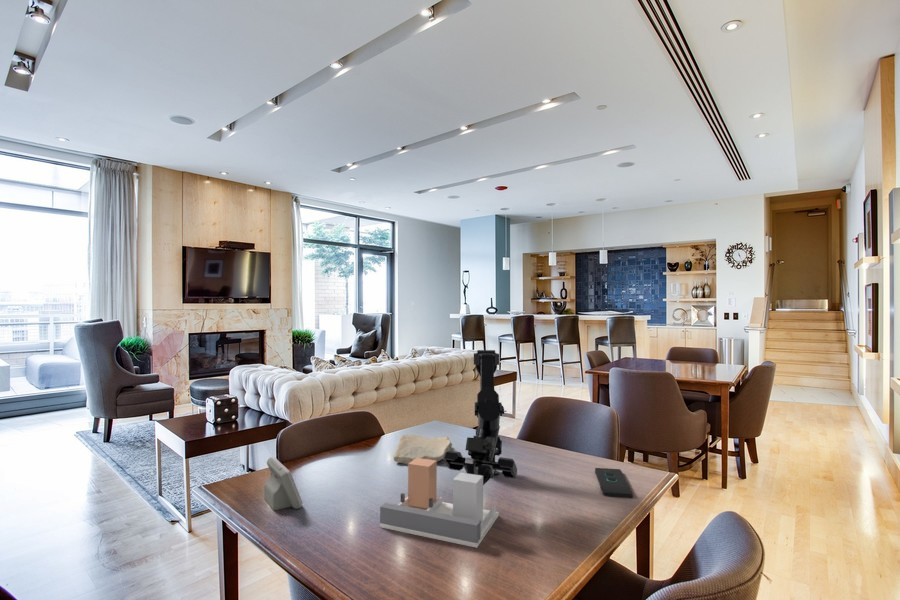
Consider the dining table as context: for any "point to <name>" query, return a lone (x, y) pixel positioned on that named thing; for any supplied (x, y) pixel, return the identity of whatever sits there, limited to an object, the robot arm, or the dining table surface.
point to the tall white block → (468, 496)
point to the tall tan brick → (422, 482)
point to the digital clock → (281, 487)
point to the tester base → (436, 522)
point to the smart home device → (613, 483)
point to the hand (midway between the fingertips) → (472, 496)
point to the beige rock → (421, 448)
